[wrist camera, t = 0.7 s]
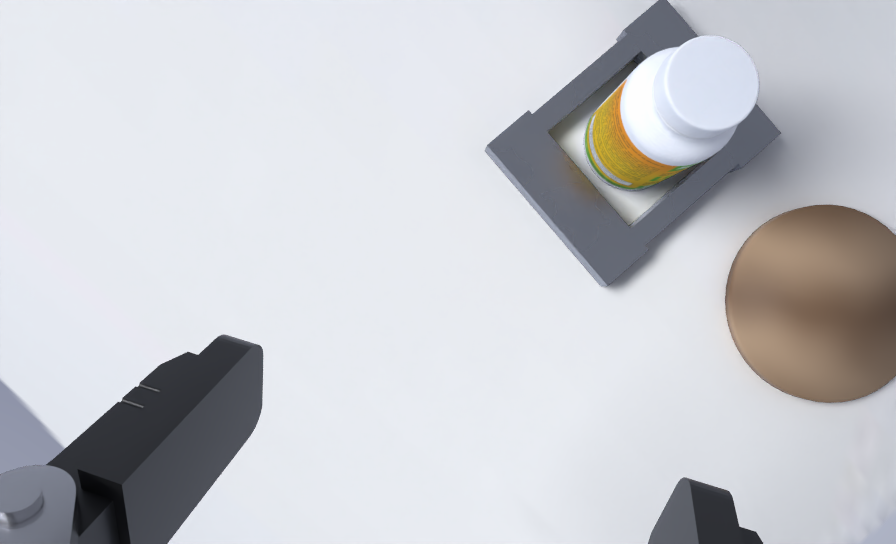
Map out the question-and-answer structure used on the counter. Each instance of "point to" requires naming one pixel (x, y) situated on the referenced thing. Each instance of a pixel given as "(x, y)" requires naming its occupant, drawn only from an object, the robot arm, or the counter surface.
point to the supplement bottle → (671, 112)
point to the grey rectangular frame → (569, 191)
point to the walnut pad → (817, 303)
